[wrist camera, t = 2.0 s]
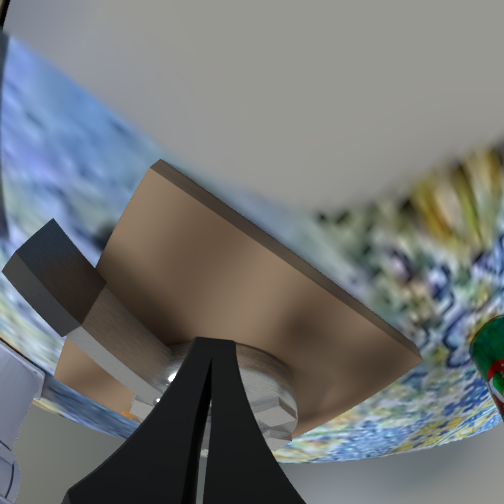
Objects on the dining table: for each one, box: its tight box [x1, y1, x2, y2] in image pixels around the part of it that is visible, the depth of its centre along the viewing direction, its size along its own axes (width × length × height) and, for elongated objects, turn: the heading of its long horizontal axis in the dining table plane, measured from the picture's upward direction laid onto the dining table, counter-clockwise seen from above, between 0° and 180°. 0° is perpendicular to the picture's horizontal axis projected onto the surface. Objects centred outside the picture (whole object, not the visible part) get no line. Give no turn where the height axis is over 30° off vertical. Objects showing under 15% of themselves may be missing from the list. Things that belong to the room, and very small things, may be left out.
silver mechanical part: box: [2, 218, 298, 456], centre depth 14 cm, size 19×10×4 cm, turn 32°
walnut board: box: [54, 159, 423, 439], centre depth 18 cm, size 20×20×2 cm
